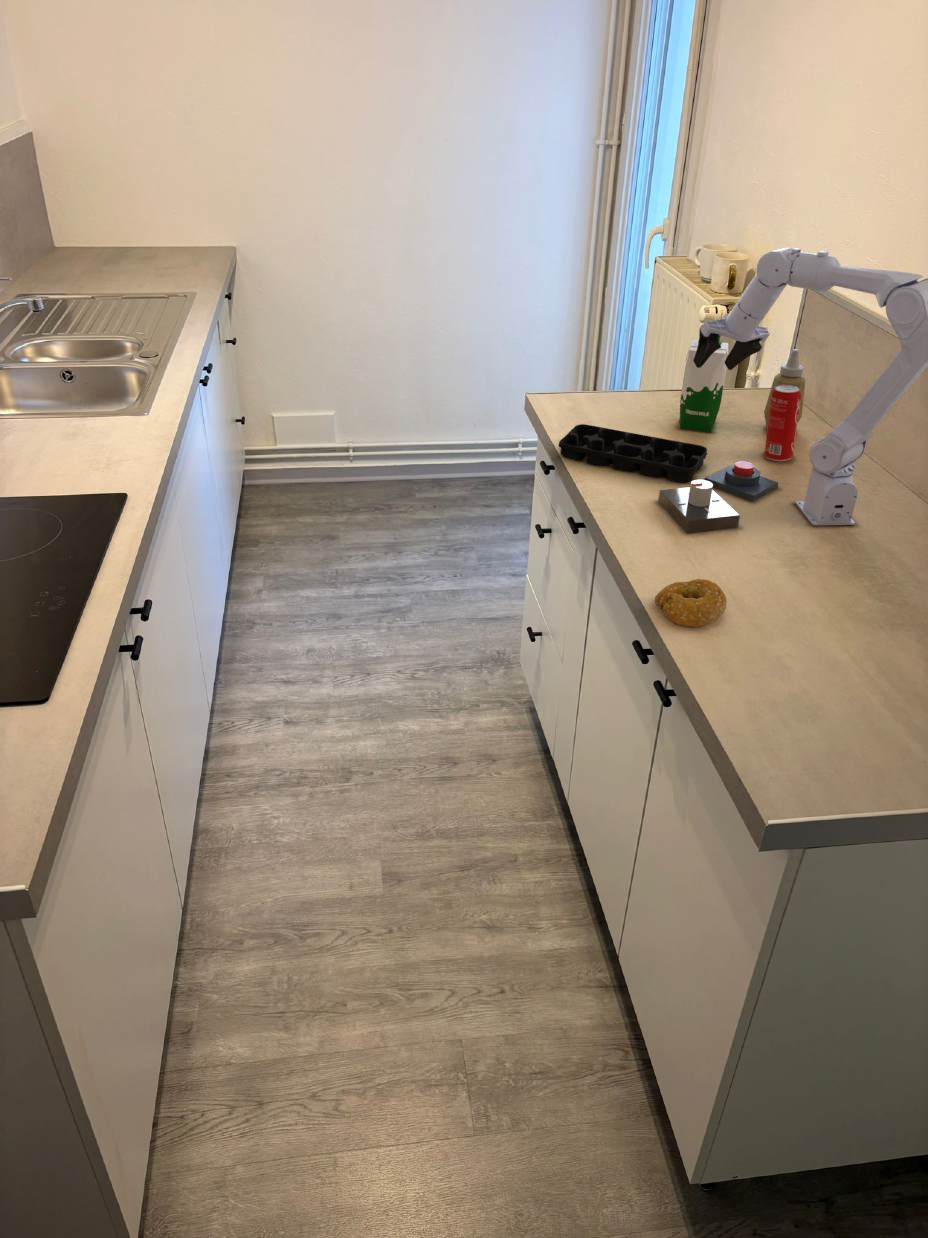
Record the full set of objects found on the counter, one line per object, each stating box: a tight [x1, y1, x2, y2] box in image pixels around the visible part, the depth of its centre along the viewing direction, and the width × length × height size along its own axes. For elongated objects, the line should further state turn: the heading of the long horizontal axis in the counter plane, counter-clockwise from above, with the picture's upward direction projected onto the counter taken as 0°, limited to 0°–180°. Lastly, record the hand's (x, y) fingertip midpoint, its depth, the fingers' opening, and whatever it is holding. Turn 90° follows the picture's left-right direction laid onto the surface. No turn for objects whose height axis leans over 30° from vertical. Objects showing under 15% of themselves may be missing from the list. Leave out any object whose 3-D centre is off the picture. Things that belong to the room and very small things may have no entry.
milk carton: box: [679, 336, 729, 434], centre depth 211 cm, size 9×9×20 cm
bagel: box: [654, 578, 727, 628], centre depth 149 cm, size 10×11×5 cm
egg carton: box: [558, 423, 708, 484], centre depth 198 cm, size 18×30×4 cm, turn 76°
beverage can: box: [764, 384, 801, 462], centre depth 198 cm, size 6×6×15 cm
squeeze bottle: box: [763, 348, 806, 429], centre depth 210 cm, size 8×8×18 cm
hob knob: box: [688, 479, 714, 507], centre depth 176 cm, size 4×4×4 cm
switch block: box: [704, 464, 779, 503], centre depth 189 cm, size 11×9×3 cm
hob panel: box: [657, 486, 741, 534], centre depth 178 cm, size 13×10×3 cm
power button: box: [734, 460, 755, 476], centre depth 188 cm, size 4×4×2 cm
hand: (712, 365), depth 186 cm, fingers open, 7 cm apart
